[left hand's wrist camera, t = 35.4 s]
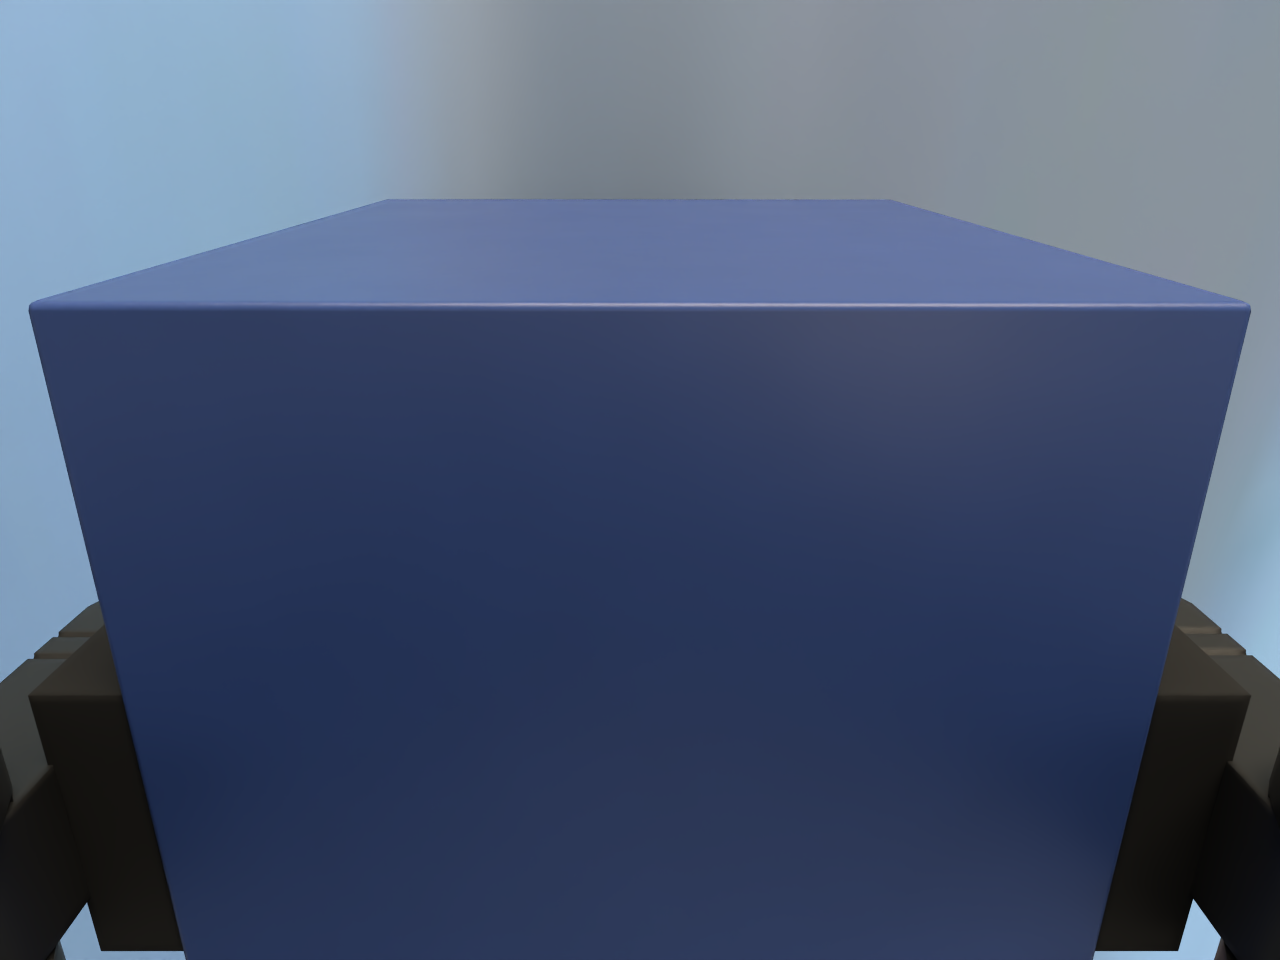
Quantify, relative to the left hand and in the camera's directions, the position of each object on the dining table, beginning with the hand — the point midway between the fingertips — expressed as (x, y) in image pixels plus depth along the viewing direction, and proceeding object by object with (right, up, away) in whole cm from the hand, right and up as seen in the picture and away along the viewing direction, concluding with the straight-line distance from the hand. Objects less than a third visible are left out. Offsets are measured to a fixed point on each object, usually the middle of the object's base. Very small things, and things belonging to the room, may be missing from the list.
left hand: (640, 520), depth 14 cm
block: (0, +1, +3) cm, 3 cm away
